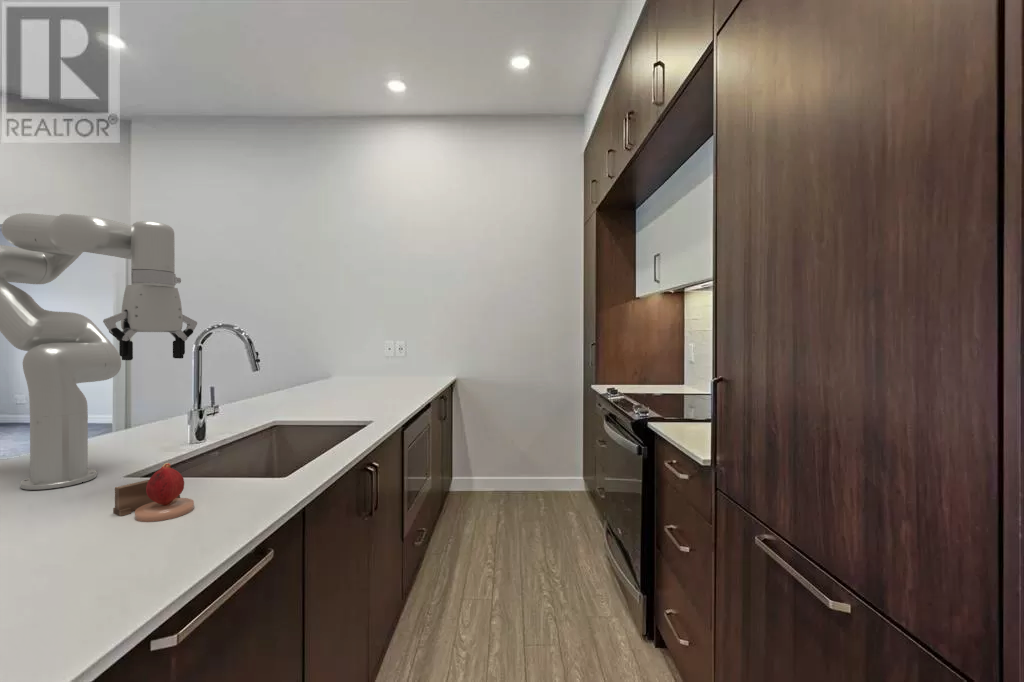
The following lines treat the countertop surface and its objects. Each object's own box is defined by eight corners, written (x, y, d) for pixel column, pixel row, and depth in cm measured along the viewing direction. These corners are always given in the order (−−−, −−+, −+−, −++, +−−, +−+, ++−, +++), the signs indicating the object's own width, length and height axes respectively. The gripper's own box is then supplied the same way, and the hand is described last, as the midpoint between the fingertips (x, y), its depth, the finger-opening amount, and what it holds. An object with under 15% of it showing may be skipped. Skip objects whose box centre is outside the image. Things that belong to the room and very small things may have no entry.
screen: (113, 513, 89) (113, 486, 89) (172, 497, 98) (172, 473, 98) (120, 516, 88) (120, 489, 88) (180, 499, 96) (179, 475, 96)
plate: (125, 515, 88) (125, 509, 88) (178, 501, 96) (178, 495, 96) (150, 525, 84) (149, 518, 84) (203, 509, 91) (203, 502, 91)
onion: (164, 512, 86) (164, 468, 86) (138, 509, 88) (137, 466, 87) (191, 501, 92) (191, 460, 92) (166, 499, 93) (166, 458, 93)
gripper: (187, 285, 112) (187, 357, 112) (95, 276, 97) (96, 360, 97) (204, 283, 109) (205, 358, 109) (112, 274, 93) (113, 361, 94)
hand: (153, 359), depth 103 cm, fingers open, 9 cm apart
